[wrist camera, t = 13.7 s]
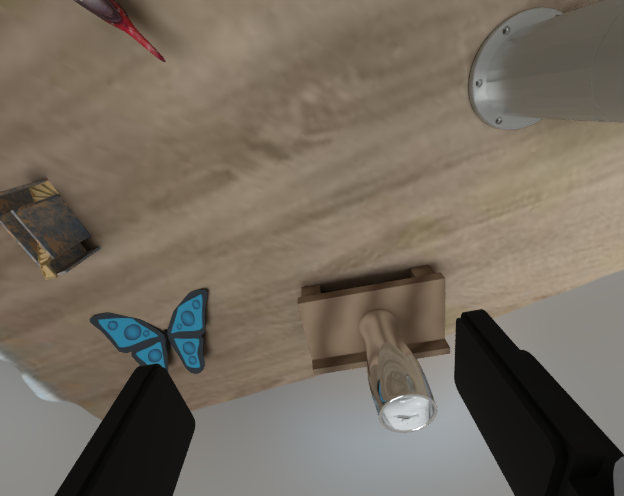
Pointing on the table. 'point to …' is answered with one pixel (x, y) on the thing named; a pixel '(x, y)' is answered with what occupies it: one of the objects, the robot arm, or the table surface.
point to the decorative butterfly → (161, 334)
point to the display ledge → (359, 301)
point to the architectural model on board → (44, 227)
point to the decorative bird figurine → (117, 20)
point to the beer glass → (395, 375)
